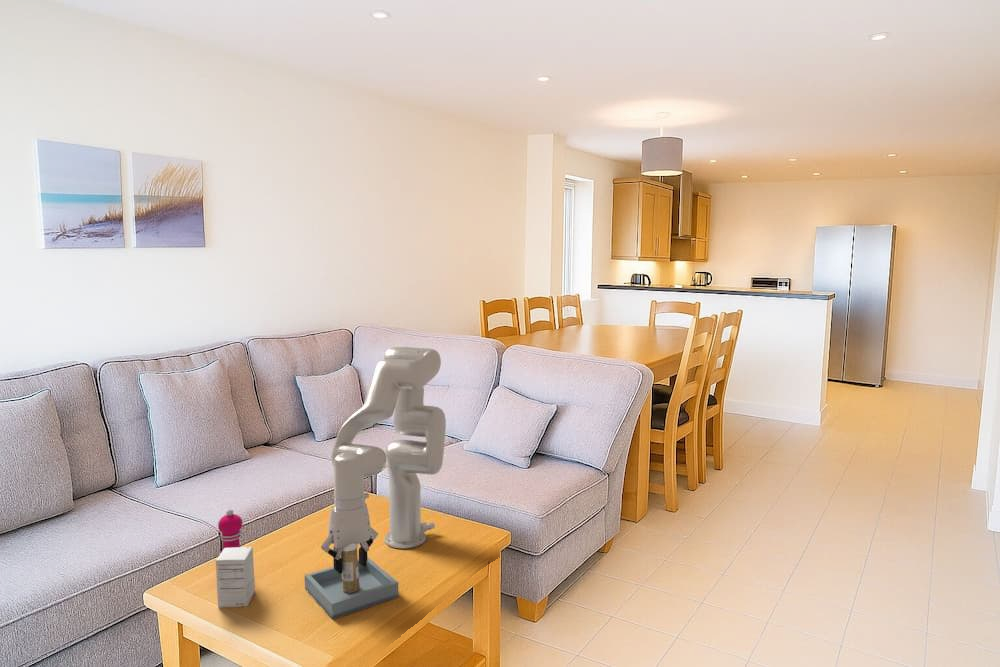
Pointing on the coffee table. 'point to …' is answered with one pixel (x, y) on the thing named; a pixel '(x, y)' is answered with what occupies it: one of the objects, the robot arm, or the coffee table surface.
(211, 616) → the coffee table surface
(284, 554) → the coffee table surface
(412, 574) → the coffee table surface
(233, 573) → the supplement box
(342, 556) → the sprinkles bottle
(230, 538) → the pepper mill
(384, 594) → the tray
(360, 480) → the robot arm
